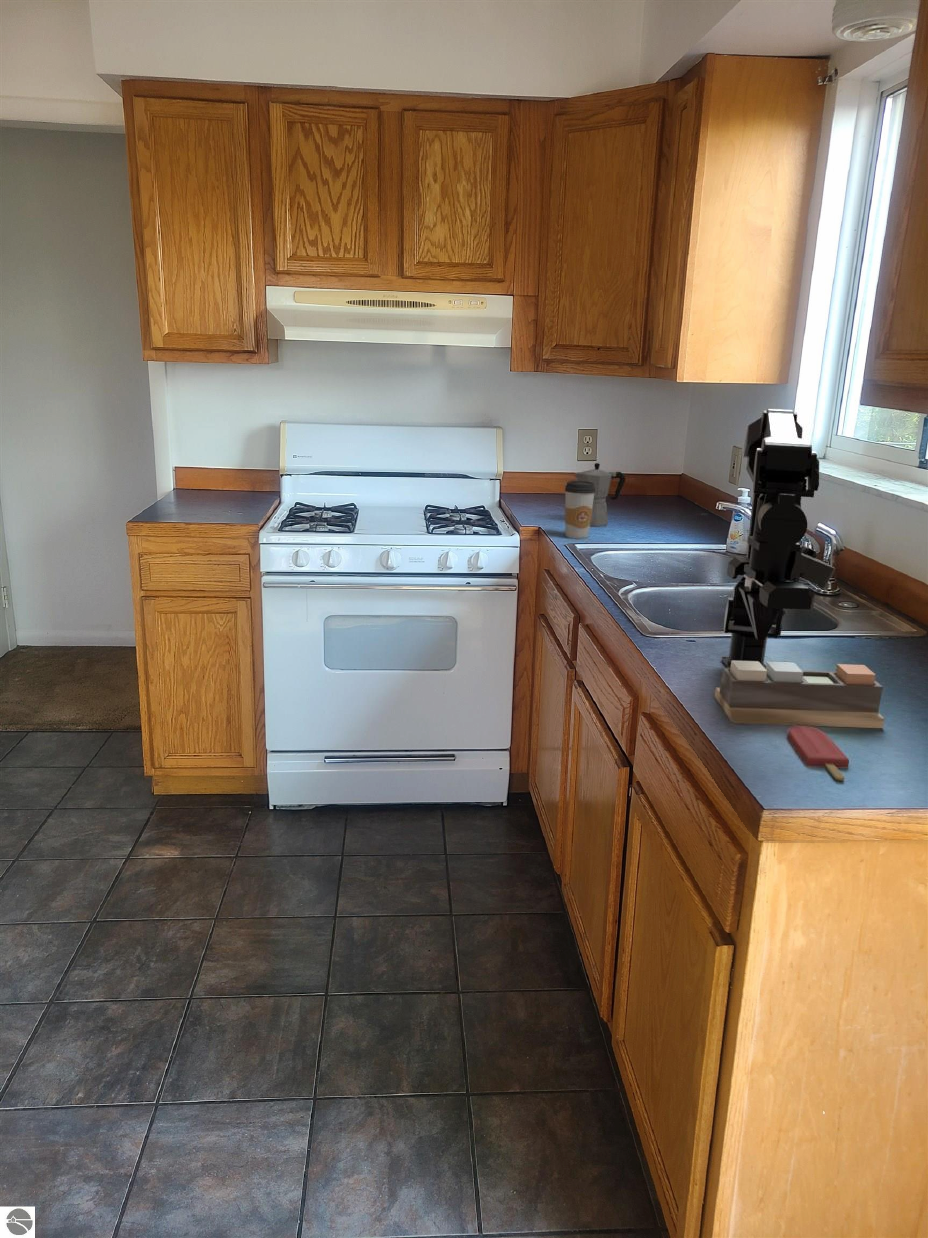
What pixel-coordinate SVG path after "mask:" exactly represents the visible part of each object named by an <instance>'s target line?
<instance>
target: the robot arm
mask: <svg viewBox="0 0 928 1238" xmlns="http://www.w3.org/2000/svg"><path fill="white" fill-rule="evenodd" d="M803 431H804V430H803V427H802V425H800V424H799V422H798V412H797V411H794V410H793V409H780V408H767V410H764V409H763V411H762V413H761V417H760V418H758V419H756V420H755V421H754V422H751V423H750V424H748V426H747V430H746V435H745V440H744V445H743V446H744V448H743V458H746V466H745V467H746V468H745V469H746V471H747V473H748V475H749V477H750V480H751V482H752V485H753V487H752V488H753V489H752V502H751V509H750V510H751V511H750V519H749V520H750V521H749V530H748V536H747V547H746V555H745V556H746V557H744V556H743V557H742V556H740V557H739V556H737V557H736V556H735V557H733V558H732V559H731V560H729V562H728V563H727V569H726V575H727V577H729V578H730V579H732V580H736V579H737V578H738V576H741V577H740V579H739V580H738V581H737V582H736V584H735V585H734V587H733V588H732V595H731V596H728V598H727V603H726V606H725V607H726V608H725V612H724V620H723V632H724V634H730V635H731V636H730V645H729V652H728V656H722V657H721V661H722V662H723V663H724V665H725V666H726V668H731V660H734V661H759V662H760V664H761V665H762V666H763V667H764V668H765V669H766V664H765V658H766V650H767V644H768V638H773V639H778V637H780V636H781V635H782V628H783V623H784V619H785V617H786V610H813V609H814V604H815V597H816V595H815V594H814V592H813V591H812V590H811V589H810V587H808V586H807V585H805V584H803V583H802V582H800V578H801V579H803V580H805V581H808V582H809V583H810V582H811V583H812V584H816V586H817V587H819V588H822V589H826V587H827V585H828V583H829V582H830V579H831V577H832V576H833V574H834V572H835V570H836V568H835V567H833V566H832V565H830V564H828V563H826V562H825V561H822V560H820V559H818V558H817V551H816V550H814V549H812V548H810V547H808V546H806V545H802V544H801V543H800V541H801V540H802V539H803V538H804V537H805V535H806V533H807V529H808V519H807V516H806V514H805V512H804V511H803V509H802V507H801V506H802V498H811V499H812V498H813V499H814V497H815V492H818V490H819V487H820V460H819V459H818V453H817V452H816V451H813V446H812V444H811V442H810V441H809V440H808V439H804V438H803Z"/></svg>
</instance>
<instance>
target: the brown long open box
mask: <svg viewBox="0 0 928 1238" xmlns="http://www.w3.org/2000/svg"><path fill="white" fill-rule="evenodd" d="M801 670H802V669H801ZM802 671H803V676H820V677H828V678H829V679H830V680H831V681H832V682H833V683H834V684H828V683H808V682H807V681H806V680H805V679H804V678H803V677H802V683H800V682H772V680H771V679H770V678H769V677H768V676H767V675H766V681H742V680H736V679H735V678H734V677H733V675H732V674H731V673H730V668H728V667H722V671H721V678H720V685H719V687H715V691H714V698H715V699H716V701H717V703H718V704H719V705H720V706H721V708H722V710H723V711H724V712H725V714H726V715H727V717H728V718H729V720H730V721H731V723H732V724H747V725H748V724H750V725H751V724H753V725H775V726H777V725H781V726H783V725H784V726H808V727H835V728H836V727H839V728H867V729H868V728H869V729H870V728H871V729H883V728H884V723H885V717H884V716H883V715H881V714H880V713H879V711H880V710H879V709H880V705H881V699H882V694H883V687H884V686H883V685H881V684H880V683H879V682H878V681H877V680H875V681H874V685H857V684H844V683H843V682H842V681H841V680H840V679H839V678H838V677H837V676H836V675H835V673H836V671H828V670H804V669H803V670H802Z"/></svg>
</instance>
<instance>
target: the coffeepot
mask: <svg viewBox="0 0 928 1238" xmlns="http://www.w3.org/2000/svg"><path fill="white" fill-rule="evenodd" d="M600 466H601V464H600V463H599V462H595V463H594V469H589V470H584V471H579V472H576V473H574V474H573V476H574V477H575V478H576V479H577V481H588V482H592V483H594V487H595V493H594V499H593V506H592V508H593V509H592V516H591V523H590V527H591V528H592V527H594V528H595V527H597V528H601V527H605V526H607V525H608V523H609V520H608V519H609V518H608V507H607V502H606V500H607V497H608V495H609V494H608V493H609V491H610V490H609V489H610V485H611V480H612V479H619V481H618V483H617V487H616V489H615V492H614V495H613V496H610V500H613V501H614V500H618V499H619V497H620V494H621V492H622V490H623V487H624V484H625V482H626V476H625V475H624V474H623V472H621V471H605V470H602V469H600Z"/></svg>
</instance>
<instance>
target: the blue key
mask: <svg viewBox="0 0 928 1238" xmlns="http://www.w3.org/2000/svg"><path fill="white" fill-rule="evenodd" d="M765 665H766V670H767V674H766V675H767V676H768V677H769V678H770V679H771V680H772V682H800V683H802V677H803V671H802V669H801V668H800V667H799V666H798V665H797V664H796V663H795V662H789V661H787V662H785V661H766V664H765Z"/></svg>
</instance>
